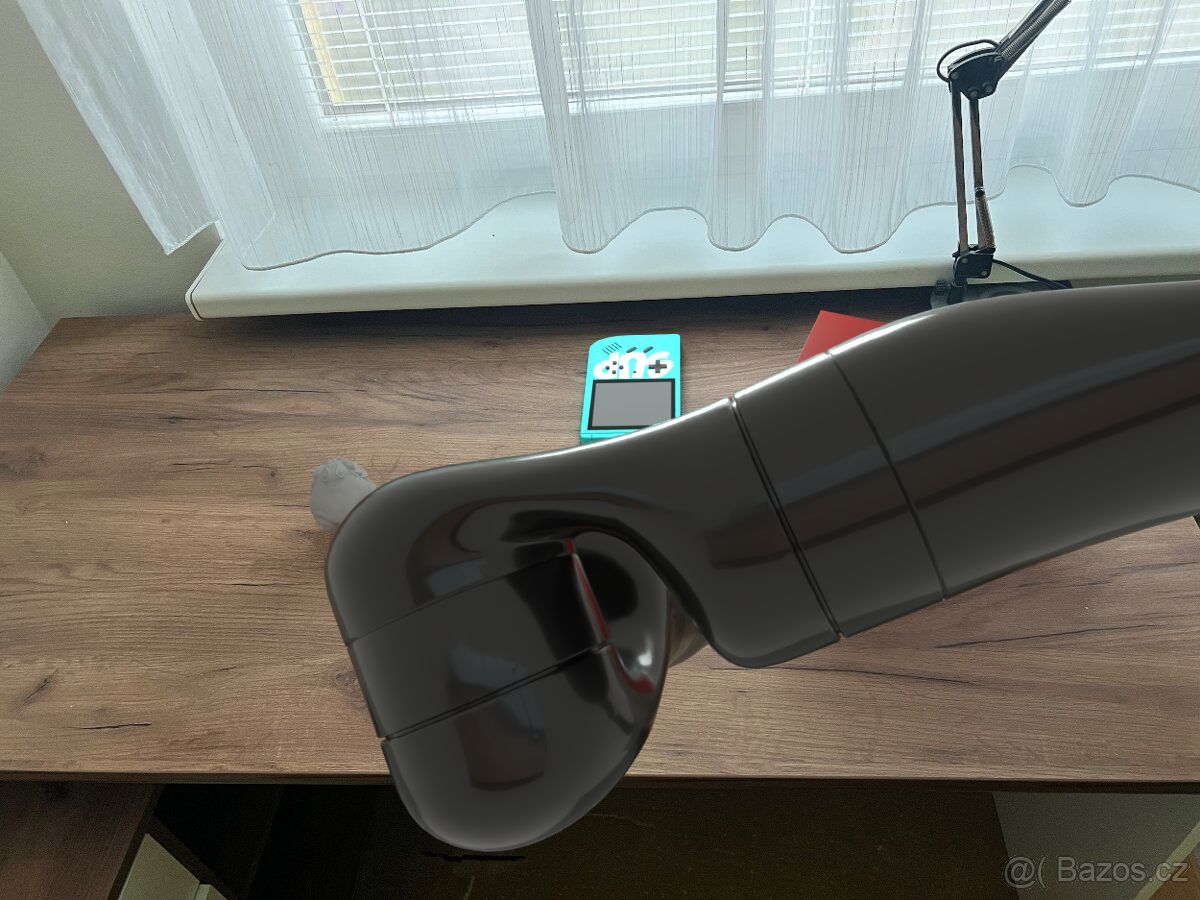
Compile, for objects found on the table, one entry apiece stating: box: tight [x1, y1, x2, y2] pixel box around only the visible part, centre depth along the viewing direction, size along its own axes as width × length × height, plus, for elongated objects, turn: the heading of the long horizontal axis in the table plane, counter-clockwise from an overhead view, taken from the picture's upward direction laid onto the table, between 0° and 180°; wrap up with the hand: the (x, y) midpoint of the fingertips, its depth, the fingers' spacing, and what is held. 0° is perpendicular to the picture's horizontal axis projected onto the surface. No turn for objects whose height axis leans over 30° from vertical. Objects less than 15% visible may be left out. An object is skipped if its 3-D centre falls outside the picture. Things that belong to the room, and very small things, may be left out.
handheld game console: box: [579, 333, 683, 444], centre depth 91 cm, size 10×16×1 cm, turn 176°
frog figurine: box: [308, 456, 378, 535], centre depth 79 cm, size 6×7×7 cm
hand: (732, 549), depth 55 cm, fingers open, 8 cm apart
